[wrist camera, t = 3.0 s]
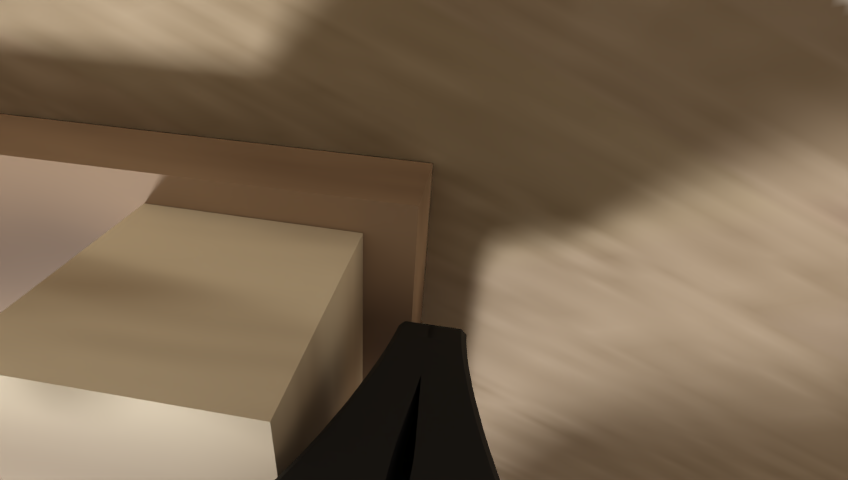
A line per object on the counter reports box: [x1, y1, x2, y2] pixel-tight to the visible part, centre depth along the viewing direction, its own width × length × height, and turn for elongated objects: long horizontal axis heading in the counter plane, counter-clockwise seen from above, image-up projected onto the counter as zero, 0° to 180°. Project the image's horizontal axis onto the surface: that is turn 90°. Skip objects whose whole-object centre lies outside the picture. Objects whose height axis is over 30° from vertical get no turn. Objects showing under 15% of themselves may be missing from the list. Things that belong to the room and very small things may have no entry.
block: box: [0, 203, 363, 480], centre depth 10 cm, size 4×4×4 cm
